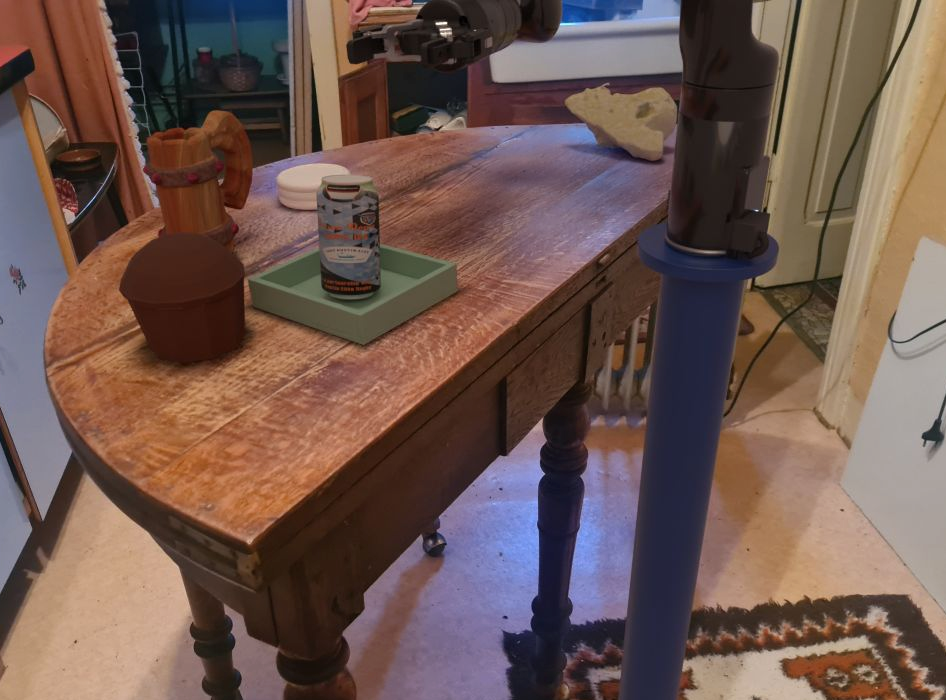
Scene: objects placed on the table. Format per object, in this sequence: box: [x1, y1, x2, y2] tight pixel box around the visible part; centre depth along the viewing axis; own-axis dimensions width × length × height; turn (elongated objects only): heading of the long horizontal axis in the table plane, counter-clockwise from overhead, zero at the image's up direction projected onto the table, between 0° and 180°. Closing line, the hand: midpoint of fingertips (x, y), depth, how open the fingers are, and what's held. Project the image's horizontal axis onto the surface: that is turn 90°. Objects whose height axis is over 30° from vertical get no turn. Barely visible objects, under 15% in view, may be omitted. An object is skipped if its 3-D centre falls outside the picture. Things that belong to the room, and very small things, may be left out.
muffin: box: [118, 233, 246, 364], centre depth 79 cm, size 12×11×10 cm
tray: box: [247, 243, 459, 346], centre depth 88 cm, size 16×15×3 cm
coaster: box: [275, 163, 352, 211], centre depth 115 cm, size 10×10×4 cm
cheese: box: [564, 82, 678, 162], centre depth 129 cm, size 15×7×15 cm
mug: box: [142, 109, 254, 254], centre depth 97 cm, size 15×8×15 cm, turn 151°
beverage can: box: [316, 174, 381, 299], centre depth 85 cm, size 6×7×12 cm
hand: (386, 55), depth 84 cm, fingers open, 8 cm apart
